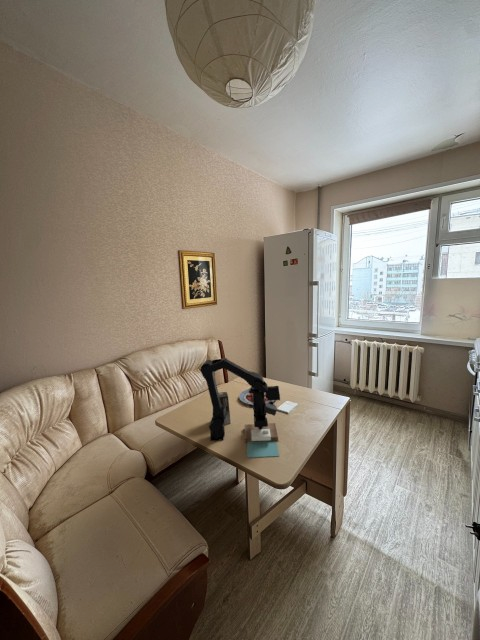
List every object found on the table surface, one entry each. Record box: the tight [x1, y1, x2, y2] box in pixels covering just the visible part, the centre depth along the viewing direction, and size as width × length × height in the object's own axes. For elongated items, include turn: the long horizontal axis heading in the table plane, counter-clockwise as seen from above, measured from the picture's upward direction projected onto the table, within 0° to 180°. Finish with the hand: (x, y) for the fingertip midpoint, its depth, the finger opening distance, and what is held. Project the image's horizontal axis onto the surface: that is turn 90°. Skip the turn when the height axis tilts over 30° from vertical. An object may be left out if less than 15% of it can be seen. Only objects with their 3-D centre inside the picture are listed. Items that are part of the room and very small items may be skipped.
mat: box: [246, 441, 280, 459], centre depth 111 cm, size 14×10×1 cm
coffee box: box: [218, 391, 232, 425], centre depth 136 cm, size 9×6×16 cm
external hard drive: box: [276, 400, 299, 415], centre depth 148 cm, size 2×8×12 cm
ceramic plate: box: [238, 388, 276, 406], centre depth 163 cm, size 26×26×3 cm
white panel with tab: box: [251, 429, 271, 441], centre depth 117 cm, size 9×6×3 cm, turn 88°
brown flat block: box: [244, 422, 279, 444], centre depth 122 cm, size 16×12×2 cm
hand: (260, 430), depth 121 cm, fingers closed
